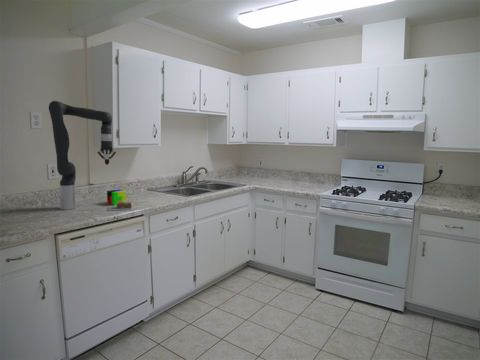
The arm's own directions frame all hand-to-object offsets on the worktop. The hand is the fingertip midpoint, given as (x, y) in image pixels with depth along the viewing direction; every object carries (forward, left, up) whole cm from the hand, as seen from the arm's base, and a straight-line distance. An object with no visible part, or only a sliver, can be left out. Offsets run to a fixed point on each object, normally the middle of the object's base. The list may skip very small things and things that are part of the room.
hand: (107, 164), depth 235 cm
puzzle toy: (+5, +14, -32) cm, 36 cm away
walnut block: (+6, -4, -30) cm, 30 cm away
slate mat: (+8, -4, -32) cm, 33 cm away
